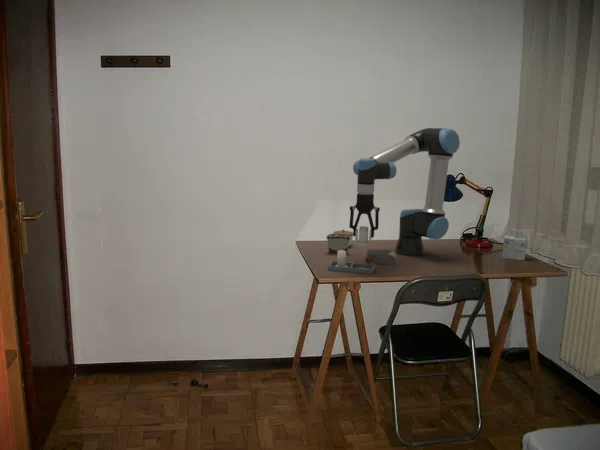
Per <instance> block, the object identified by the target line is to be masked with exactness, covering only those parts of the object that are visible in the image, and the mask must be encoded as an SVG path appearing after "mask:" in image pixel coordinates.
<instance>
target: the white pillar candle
mask: <svg viewBox="0 0 600 450" xmlns="http://www.w3.org/2000/svg"><path fill="white" fill-rule="evenodd" d="M356 245H358V246H362V247H363V246H364V247H366V246H370V245H369V226H365V225H360V226H359V228H358V241H357V244H356Z"/></svg>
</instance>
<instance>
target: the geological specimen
mask: <svg viewBox="0 0 600 450" xmlns="http://www.w3.org/2000/svg"><path fill="white" fill-rule="evenodd" d="M397 256H398V255H397V253H396V252H395V250H393V249H389V248H388V249H378V248H377V249H375V248H374V249H372V248H371V249H370V248H368V249H367V251H366V255H365V257H366V258H367V260H368V264H375V265H382V266H383V265H388V266H398V264H399V263H398V257H397Z"/></svg>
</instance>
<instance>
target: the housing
mask: <svg viewBox="0 0 600 450" xmlns="http://www.w3.org/2000/svg"><path fill="white" fill-rule="evenodd" d="M336 256H337V257H336V258H337V259H336V260H332V261H330V263H329V264H328V266H327V267H328V268H327V271H328V272H330V271H331V272H341V273H342V272H343V273H353V274H354V273H355V274H365V275H367V274H368V275H373V274H374V272H375V270H376V264H369V263H361V262H352V261H347V255H346V251H344V250H339V251H337V255H336Z"/></svg>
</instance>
